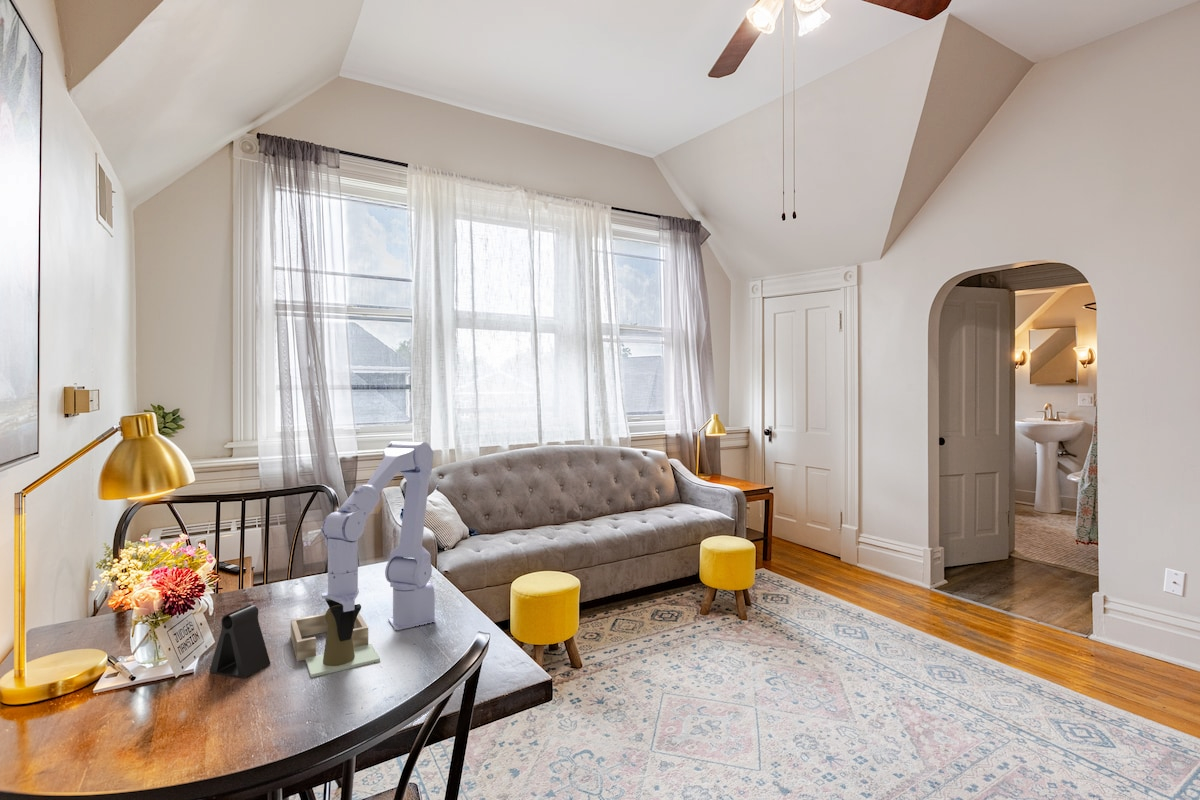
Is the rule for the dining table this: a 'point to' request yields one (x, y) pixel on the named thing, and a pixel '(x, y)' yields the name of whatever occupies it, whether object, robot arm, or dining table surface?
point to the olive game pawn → (336, 644)
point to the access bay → (319, 625)
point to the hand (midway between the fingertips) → (342, 635)
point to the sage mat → (362, 657)
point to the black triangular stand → (240, 645)
